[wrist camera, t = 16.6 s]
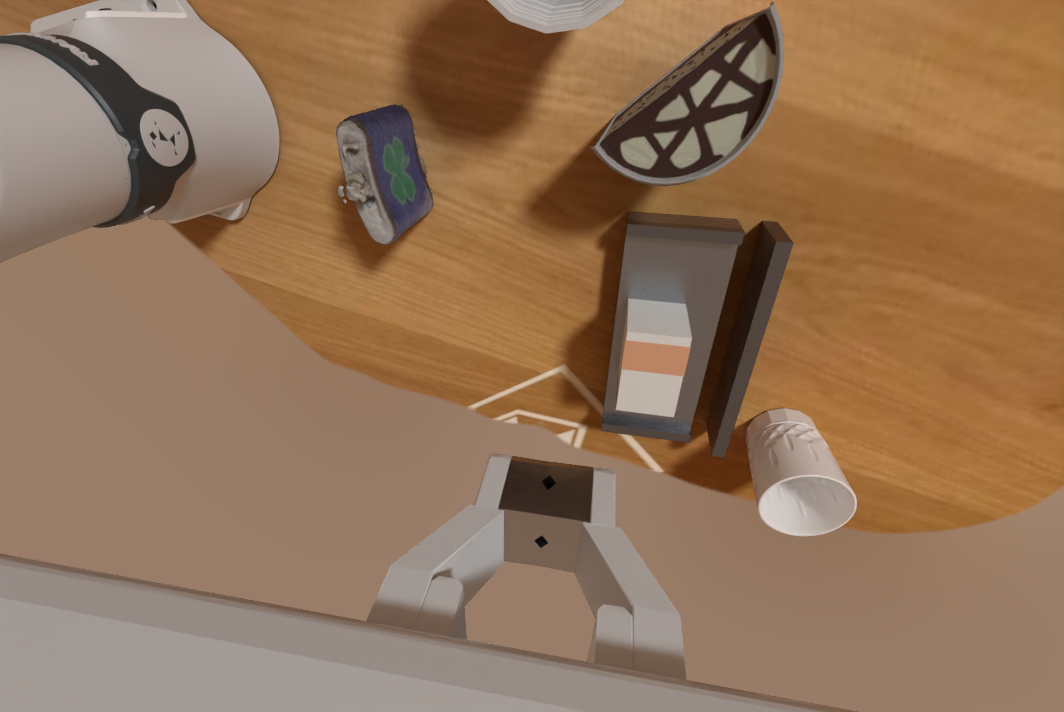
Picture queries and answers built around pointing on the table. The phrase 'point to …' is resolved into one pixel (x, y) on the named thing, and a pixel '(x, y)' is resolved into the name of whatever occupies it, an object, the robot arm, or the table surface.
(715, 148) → the food container
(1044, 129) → the table surface
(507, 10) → the plastic cup
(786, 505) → the white cup
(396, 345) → the table surface
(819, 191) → the table surface
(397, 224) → the flask
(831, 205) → the table surface
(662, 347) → the block
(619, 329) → the dark grey tray
